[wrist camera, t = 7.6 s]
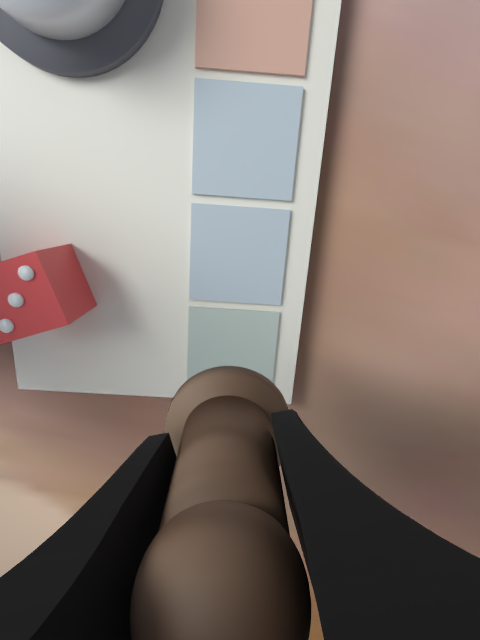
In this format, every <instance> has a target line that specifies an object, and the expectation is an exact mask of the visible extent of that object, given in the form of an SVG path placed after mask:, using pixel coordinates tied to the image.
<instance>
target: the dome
mask: <svg viewBox="0 0 480 640" xmlns="http://www.w3.org/2000/svg"><path fill="white" fill-rule="evenodd" d="M124 2H125V0H0V8H1V9H2V10H3V11H4V12H6V13H7V14H8V15H9V16H10V17H11V18H13V19H14V20H15V21H16V22H18V23H19V24H20V25H22V26H23V27H25V28H26V29H28V30H30V31H32V32H34V33H36V34H38V35H40V36H44V37H47V38H50V39H56V40H75V39H81V38H84V37H87V36H90V35H92V34H94V33H96V32H98V31H99V30H100V29H102V28H103V27H105V26H106V25H107V24H108V23H109V22H110V21H111V20H112V19H113V18H114V17H115V16H116V14H117V13H118V12H119V10H120V9H121V7H122V5H123V3H124Z"/></svg>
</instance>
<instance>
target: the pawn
mask: <svg viewBox="0 0 480 640" xmlns="http://www.w3.org/2000/svg"><path fill="white" fill-rule="evenodd" d="M285 410H288V407H287V404H286V401H285V399H284V397H283V395H282V393H281V392H280V390H279V389H278V388H277V387H276V385H275V384H274V383H273V382H271V381H270V380H269V379H268V378H266V377H265V376H263V375H262V374H260V373H258V372H256V371H253V370H251V369H248V368H243V367H238V366H219V367H213V368H210V369H206V370H204V371H201V372H199V373H197V374H196V375H194V376H192V377H191V378H189V379H188V380H187V381H186V382H185V383H184V384H183V385H182V386H181V387H180V388H179V389H178V391H177V392H176V394H175V396H174V397H173V400H172V402H171V405H170V408H169V411H168V414H167V417H166V420H165V425H164V433H169V435H170V438H171V441H172V444H173V447H174V450H175V453H176V457H177V458H176V462H175V466H174V470H173V474H172V478H171V482H170V486H169V490H168V494H167V498H166V502H165V506H164V511H163V515H162V519H161V523H160V527H159V531H158V533H157V535H156V536H155V537H154V539H153V540H152V542H151V543H150V545H149V547H148V548H147V550H146V552H145V554H144V556H143V558H142V561H141V563H140V566H139V568H138V571H137V574H136V577H135V582H134V586H133V591H132V596H131V606H130V632H131V639H132V640H308V639H309V632H310V624H311V597H310V589H309V582H308V578H307V574H306V570H305V567H304V564H303V561H302V558H301V556H300V554H299V551H298V549H297V548H296V546H295V544H294V542H293V540H292V539H291V537H290V533H289V527H288V521H287V515H286V508H285V502H284V496H283V490H282V483H281V477H280V471H279V466H280V465H281V463H280V458H279V453H278V449H277V444H276V439H275V435H274V430H273V425H272V417H271V413H275V412H280V411H285Z"/></svg>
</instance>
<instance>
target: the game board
mask: <svg viewBox="0 0 480 640" xmlns="http://www.w3.org/2000/svg"><path fill="white" fill-rule="evenodd" d="M341 1H342V0H125V2H124V3H123V5H122V7H121V9H120V10H119V12H118V13H117V14H116V16H115V17H114V18H113V19H112V20H111V21H110V22H109V23H108V24H107V25H106V26H105V27H103V28H102V29H100V30H99V31H98V32H96V33H94V34H92V35H90V36H87V37H84V38H81V39H75V40H56V39H50V38H47V37H44V36H40V35H38V34H36V33H34V32H32V31H30V30H28V29H26V28H25V27H23V26H22V25H20V24H19V23H18V22H16V21H15V20H14V19H13V18H11V17H10V16H9V15H8V14H7V13H6V12H4V11H3V10H2V9H1V8H0V256H1V261H4V260H7V259H11V258H14V257H17V256H20V255H24V254H27V253H30V252H33V251H37V250H42V249H47V248H52V247H57V246H62V245H66V244H72V247H73V249H74V251H75V254H76V256H77V258H78V261H79V263H80V265H81V268H82V270H83V273H84V275H85V277H86V280H87V282H88V284H89V287H90V289H91V291H92V294H93V296H94V298H95V301H96V303H97V306H96V307H94V308H93V309H91V310H90V311H88V312H87V313H85V314H84V315H82V316H81V317H79V318H78V319H77V320H75V321H74V322H72V323H71V324H69V325H67V326H63V327H60V328H56V329H53V330H49V331H46V332H42V333H39V334H35V335H32V336H28V337H25V338H21V339H18V340H14V341H12V346H13V354H14V361H15V369H16V376H17V384H18V389H27V390H45V391H63V392H81V393H98V394H116V395H134V396H152V397H170V398H173V397H174V396H175V394H176V392H177V391H178V389H179V388H180V387H181V386H182V385H183V384H184V383H185V382H186V381H187V380H188V379H189V378H191V377H192V376H194V375H196V374H197V373H199V372H201V371H204V370H206V369H210V368H213V367H219V366H238V367H243V368H248V369H251V370H253V371H256V372H258V373H260V374H262V375H263V376H265V377H266V378H268V379H269V380H270V381H271V382H273V383H274V384H275V385H276V387H277V388H278V389H279V390H280V392H281V393H282V395H283V397H284V399H285V401H286V404H291V400H292V392H293V384H294V376H295V368H296V360H297V352H298V344H299V336H300V328H301V320H302V312H303V304H304V296H305V288H306V280H307V272H308V264H309V256H310V248H311V240H312V232H313V224H314V216H315V208H316V200H317V192H318V184H319V176H320V168H321V160H322V152H323V144H324V136H325V128H326V120H327V112H328V104H329V96H330V89H331V81H332V73H333V65H334V57H335V49H336V41H337V33H338V25H339V17H340V9H341Z"/></svg>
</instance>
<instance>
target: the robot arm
mask: <svg viewBox="0 0 480 640" xmlns="http://www.w3.org/2000/svg"><path fill="white" fill-rule="evenodd" d="M271 417H272V425H273V430H274V435H275V439H276V444H277V449H278V453H279V458H280V463H281V467H282V472H283V477H284V481H285V486H286V491H287V496H288V500H289V505H290V509H291V512H292V516H293V519H294V523H295V526H296V530H297V533H298V537H299V540H300V544H301V548H302V551H303V555H304V558H305V562H306V565H307V569H308V572H309V576H310V579H311V583H312V586H313V590H314V594H315V598H316V602H317V607H318V612H319V617H320V622H321V627H322V632H323V637H324V640H480V558H478V557H476V556H474V555H472V554H470V553H468V552H466V551H465V550H463V549H461V548H459V547H458V546H456V545H454V544H452V543H450V542H449V541H447V540H445V539H443V538H441V537H440V536H438V535H436V534H435V533H433V532H432V531H430V530H428V529H427V528H425V527H424V526H422V525H421V524H419V523H417V522H416V521H414V520H413V519H411V518H410V517H408V516H406V515H405V514H403V513H402V512H400V511H399V510H397V509H396V508H394V507H393V506H392V505H390V504H389V503H388V502H386V501H385V500H383V499H382V498H381V497H379V496H378V495H377V494H375V493H374V492H373V491H372V490H370V489H369V488H368V487H366V486H365V485H364V484H363V483H362V482H360V481H359V480H358V479H357V478H356V477H354V476H353V475H352V474H351V473H350V472H349V471H348V470H347V469H345V468H344V467H343V466H342V465H341V464H340V463H339V462H338V461H337V460H336V459H335V458H334V457H333V456H332V455H331V454H330V453H329V452H328V451H327V450H326V449H325V448H324V447H323V446H322V445H321V444H320V443H319V441H318V440H317V439H316V438H315V437H314V436H313V435H312V433H311V432H310V431H309V430H308V428H307V427H306V426H305V425H304V423H303V422H302V421H301V419H300V418H299V416H298V414H297V412H295V411H294V410H292V409H291V410H285V411H280V412H275V413H271ZM176 458H177V457H176V453H175V450H174V447H173V444H172V441H171V438H170V435H169V433H164V434H159V435H153V436H149V437H148V438H147V439H146V440H144V442H143V443H142V444H141V445H140V446H139V447H138V448H137V449H136V450H135V451H134V452H133V453H132V454H131V456H130V457H129V458H128V459H127V460H126V461H125V462H124V463H123V464H122V465H121V467H120V468H119V469H118V470H117V471H116V472H115V473H114V474H113V475H112V476H111V477H110V478H109V480H108V481H107V482H106V483H105V484H104V485H103V486H102V487H101V488H100V489H99V490H98V491H97V492H96V493H95V494H94V495H93V496H92V497H91V498H90V499H89V500H88V501H87V502H86V503H85V504H84V505H83V506H82V507H81V508H80V509H79V510H78V511H77V512H76V513H75V514H74V515H73V516H72V517H71V518H70V519H69V520H68V521H67V522H66V523H65V524H64V525H63V526H62V527H60V528H59V529H58V530H57V531H56V532H55V533H54V534H53V535H52V536H50V537H49V538H48V539H47V540H46V541H45V542H44V543H42V544H41V545H40V546H39V547H38V548H37V549H35V550H34V551H33V552H32V553H31V554H30V555H28V556H27V557H26V558H25V559H24V560H22V561H21V562H20V563H18V564H17V565H16V566H15V567H13V568H12V569H11V570H10V571H8V572H7V573H6V574H4V575H3V576H2V577H0V640H132V639H131V632H130V606H131V596H132V591H133V586H134V582H135V577H136V574H137V571H138V568H139V566H140V563H141V561H142V558H143V556H144V554H145V552H146V550H147V548H148V547H149V545H150V543H151V542H152V540H153V539H154V537H155V536H156V535H157V533H158V531H159V527H160V523H161V519H162V515H163V511H164V506H165V502H166V498H167V494H168V490H169V486H170V482H171V478H172V474H173V470H174V466H175V462H176Z"/></svg>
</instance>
